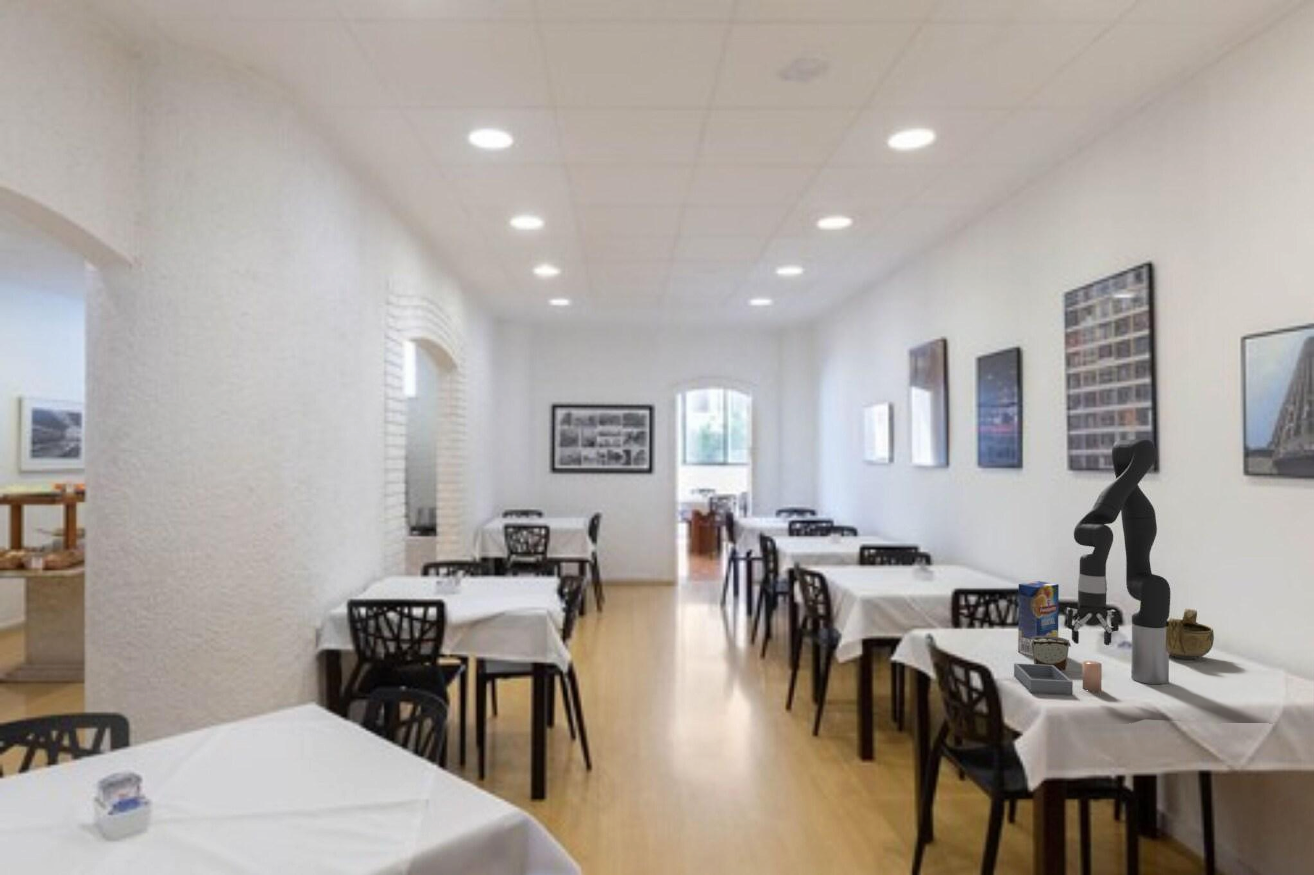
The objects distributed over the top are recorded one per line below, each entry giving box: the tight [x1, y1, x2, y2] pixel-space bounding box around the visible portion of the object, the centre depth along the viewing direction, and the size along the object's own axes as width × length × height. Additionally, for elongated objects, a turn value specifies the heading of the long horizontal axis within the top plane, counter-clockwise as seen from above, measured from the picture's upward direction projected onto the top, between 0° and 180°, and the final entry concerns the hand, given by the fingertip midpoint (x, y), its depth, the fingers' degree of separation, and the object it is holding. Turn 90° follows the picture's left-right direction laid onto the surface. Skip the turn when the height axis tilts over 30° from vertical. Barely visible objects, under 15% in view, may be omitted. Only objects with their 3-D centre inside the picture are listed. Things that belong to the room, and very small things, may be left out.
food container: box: [1030, 636, 1072, 672], centre depth 267 cm, size 12×6×10 cm, turn 84°
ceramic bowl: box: [1166, 608, 1215, 660], centre depth 281 cm, size 22×17×15 cm
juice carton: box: [1017, 580, 1060, 657], centre depth 286 cm, size 12×8×24 cm, turn 121°
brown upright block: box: [1082, 660, 1103, 693], centre depth 244 cm, size 5×5×8 cm
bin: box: [1013, 662, 1074, 696], centre depth 248 cm, size 12×18×4 cm, turn 171°
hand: (1091, 643), depth 245 cm, fingers open, 8 cm apart
